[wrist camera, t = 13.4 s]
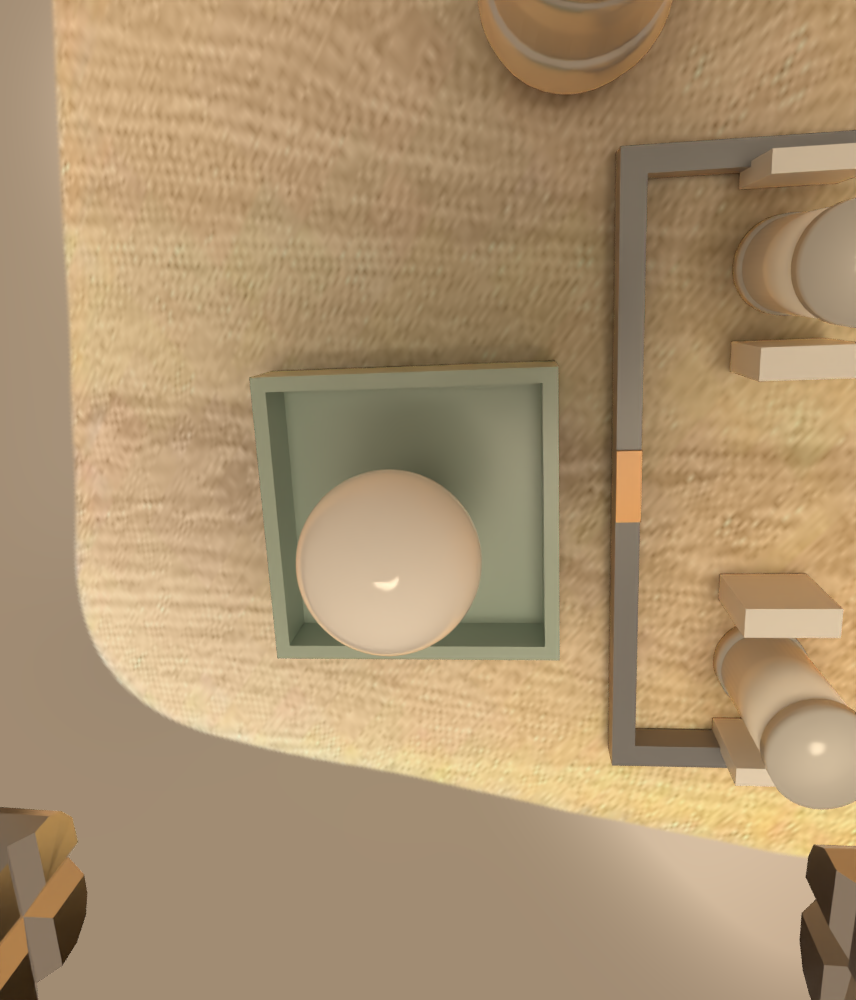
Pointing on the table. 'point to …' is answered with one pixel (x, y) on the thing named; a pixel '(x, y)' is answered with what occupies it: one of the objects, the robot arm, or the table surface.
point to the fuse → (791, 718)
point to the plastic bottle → (571, 39)
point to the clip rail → (746, 597)
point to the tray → (434, 454)
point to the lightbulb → (388, 562)
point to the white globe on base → (801, 264)
